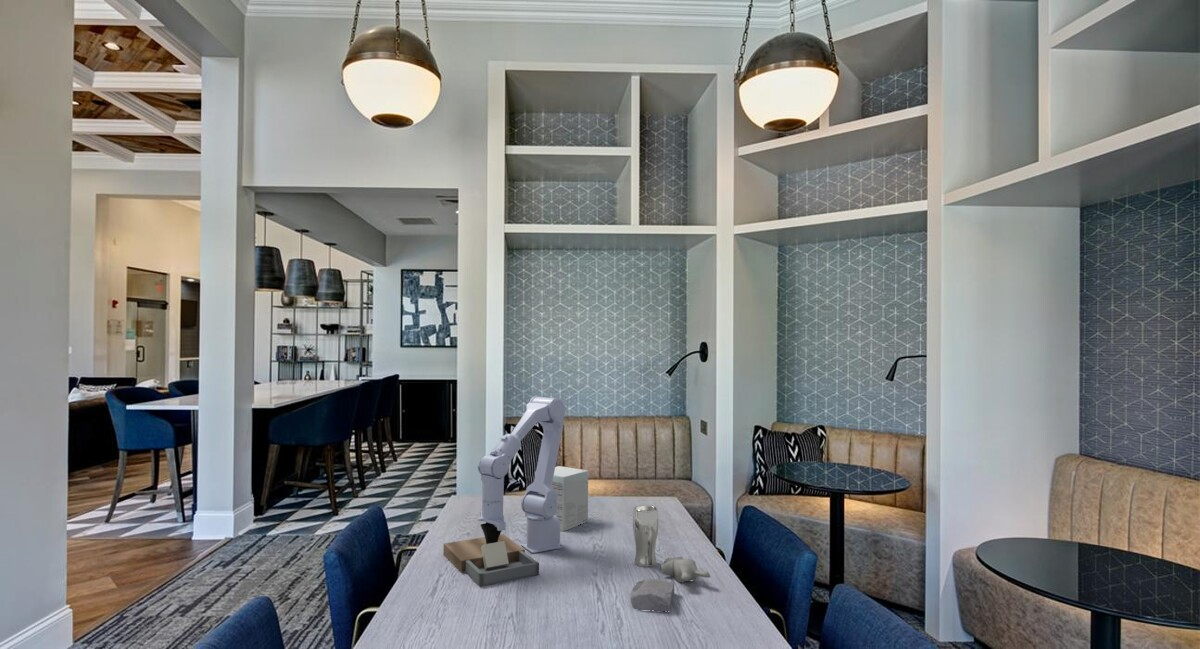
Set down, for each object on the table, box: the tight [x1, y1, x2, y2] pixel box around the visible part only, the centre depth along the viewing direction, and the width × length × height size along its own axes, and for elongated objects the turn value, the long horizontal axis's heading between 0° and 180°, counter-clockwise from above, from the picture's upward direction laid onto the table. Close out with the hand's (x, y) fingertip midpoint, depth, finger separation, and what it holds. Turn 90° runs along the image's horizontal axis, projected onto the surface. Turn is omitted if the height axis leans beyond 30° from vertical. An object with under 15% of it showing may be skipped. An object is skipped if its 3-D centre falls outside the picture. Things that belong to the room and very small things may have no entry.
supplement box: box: [534, 465, 589, 532], centre depth 205 cm, size 13×13×18 cm
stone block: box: [629, 578, 675, 613], centre depth 143 cm, size 12×5×10 cm
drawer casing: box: [442, 533, 526, 573], centre depth 171 cm, size 18×16×3 cm
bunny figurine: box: [660, 556, 711, 583], centre depth 157 cm, size 10×5×15 cm
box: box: [464, 551, 540, 587], centre depth 159 cm, size 16×11×3 cm
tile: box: [481, 541, 509, 570], centre depth 163 cm, size 6×6×2 cm
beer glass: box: [632, 504, 659, 568], centre depth 168 cm, size 7×7×15 cm
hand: (491, 550), depth 166 cm, fingers closed, pressing on tile
